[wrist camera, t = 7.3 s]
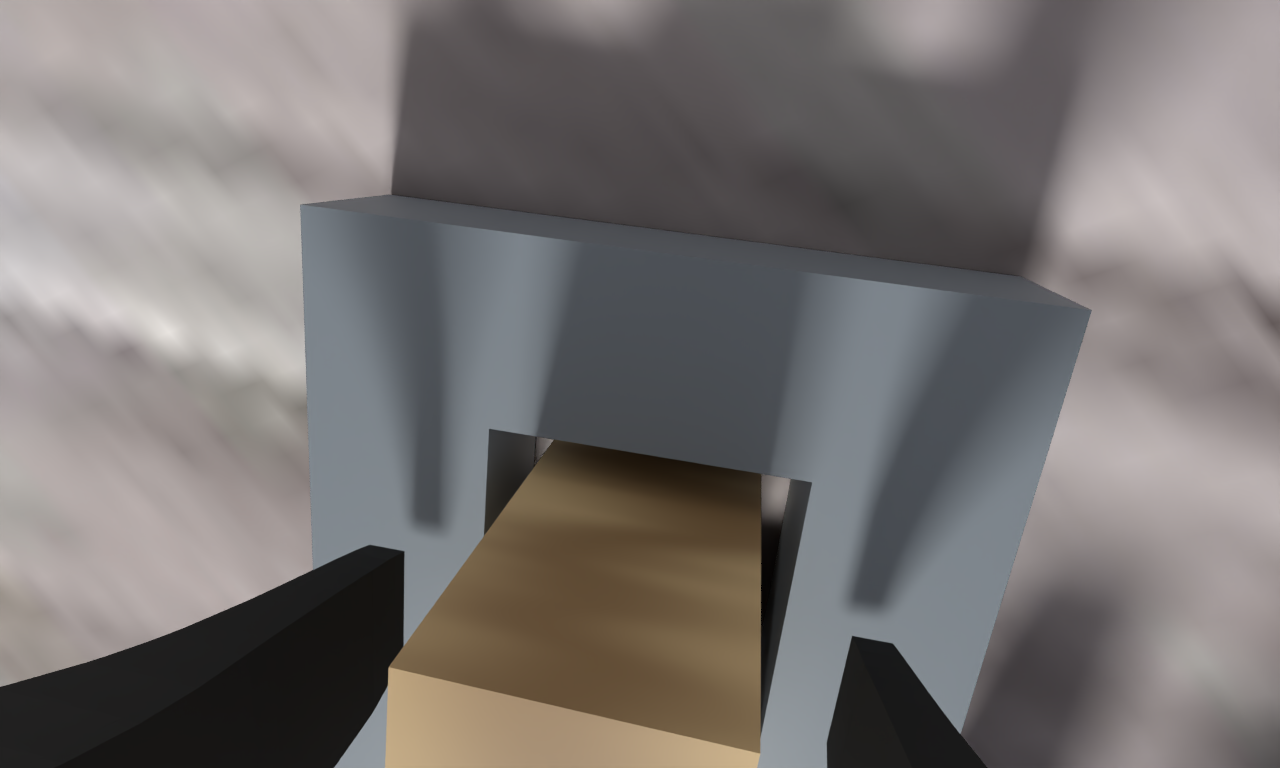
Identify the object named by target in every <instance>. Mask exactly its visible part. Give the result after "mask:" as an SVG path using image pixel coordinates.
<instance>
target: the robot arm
mask: <svg viewBox="0 0 1280 768" xmlns="http://www.w3.org/2000/svg"><path fill="white" fill-rule="evenodd" d="M404 558H405V551H401V550H396V549H390V548H385V547H380V546H374V545H367V546H365V547H362V548H360V549H357V550H355V551H353V552H350V553H348V554H346V555H344V556H342V557H339V558H337V559H335V560H333V561H331V562H329V563H327V564H325V565H323V566H320V567H318V568H316V569H314V570H312V571H310V572H308V573H306V574H304V575H302V576H300V577H297V578H295V579H293V580H291V581H289V582H287V583H285V584H283V585H280V586H278V587H276V588H274V589H272V590H270V591H268V592H266V593H264V594H261V595H259V596H257V597H255V598H253V599H251V600H248V601H246V602H244V603H241V604H239V605H237V606H234V607H232V608H230V609H227V610H225V611H223V612H220V613H218V614H216V615H213V616H211V617H209V618H206V619H204V620H202V621H199V622H197V623H195V624H192V625H190V626H188V627H185V628H183V629H180V630H178V631H175V632H173V633H170V634H167V635H165V636H162V637H159V638H157V639H154V640H151V641H149V642H146V643H143V644H140V645H137V646H134V647H132V648H129V649H126V650H123V651H120V652H117V653H114V654H111V655H108V656H105V657H102V658H99V659H96V660H93V661H90V662H87V663H83V664H80V665H76V666H73V667H69V668H66V669H62V670H59V671H55V672H52V673H48V674H45V675H41V676H38V677H34V678H31V679H27V680H24V681H20V682H17V683H13V684H10V685H6V686H2V687H0V768H334V767H335V766H336V765H337V763H338V762H339V760H340V759H341V758H342V756H343V755H344V753H345V752H346V750H347V749H348V748H349V746H350V745H351V743H352V742H353V740H354V739H355V738H356V736H357V735H358V733H359V732H360V731H361V729H362V728H363V726H364V725H365V723H366V722H367V720H368V719H369V718H370V716H371V715H372V713H373V712H374V710H375V708H376V706H377V705H378V703H379V701H380V699H381V697H382V695H383V694H384V692H385V690H386V688H387V686H388V670H389V666H390V665H391V663H392V662H393V660H394V659H395V658H396V656H397V655H398V654H399V652H400V651H401V649H402V648H403V647H404ZM827 768H987V767H986V766H985V764H984V763H983V762H982V761H981V760H980V758H979V757H978V756H977V755H976V753H975V752H974V751H973V750H972V748H971V747H970V746H969V745H968V743H967V742H966V741H965V740H964V738H963V737H962V736H961V734H960V733H959V732H958V731H957V729H956V728H955V727H954V726H953V724H952V723H951V722H950V720H949V719H948V718H947V716H946V715H945V714H944V712H943V711H942V710H941V708H940V707H939V706H938V704H937V703H936V702H935V700H934V699H933V697H932V696H931V695H930V693H929V692H928V691H927V689H926V688H925V687H924V685H923V684H922V682H921V681H920V680H919V678H918V677H917V675H916V674H915V673H914V671H913V670H912V669H911V667H910V666H909V664H908V663H907V662H906V660H905V659H904V657H903V656H902V655H901V653H900V652H899V651H898V649H897V648H896V647H895V645H894V644H893V643H888V642H883V641H877V640H872V639H867V638H861V637H856V636H852V638H851V642H850V647H849V651H848V655H847V659H846V663H845V668H844V672H843V676H842V680H841V684H840V688H839V693H838V697H837V701H836V705H835V709H834V714H833V718H832V722H831V726H830V730H829V735H828V739H827Z"/></svg>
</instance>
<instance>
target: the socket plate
mask: <svg viewBox="0 0 1280 768" xmlns="http://www.w3.org/2000/svg"><path fill="white" fill-rule="evenodd" d="M300 210H301V239H302V268H303V297H304V325H305V354H306V383H307V411H308V440H309V469H310V497H311V526H312V555H313V570H314V569H316V568H318V567H320V566H323V565H325V564H327V563H329V562H331V561H333V560H335V559H337V558H339V557H342V556H344V555H346V554H348V553H350V552H353V551H355V550H357V549H360V548H362V547H365V546H367V545H374V546H380V547H385V548H390V549H396V550H401V551H405V558H404V645H405V644H406V643H407V641H408V640H409V638H410V637H411V636H412V634H413V633H414V632H415V630H416V629H417V627H418V626H419V625H420V623H421V622H422V621H423V619H424V618H425V616H426V615H427V614H428V612H429V611H430V610H431V608H432V607H433V605H434V604H435V603H436V601H437V600H438V599H439V597H440V596H441V594H442V593H443V592H444V590H445V589H446V588H447V586H448V585H449V583H450V582H451V581H452V579H453V578H454V577H455V575H456V574H457V572H458V571H459V570H460V568H461V567H462V566H463V564H464V563H465V561H466V560H467V559H468V557H469V556H470V555H471V553H472V552H473V550H474V549H475V548H476V546H477V545H478V544H479V542H480V541H481V540H482V538H483V537H484V535H485V534H486V533H487V531H488V530H489V529H490V527H491V526H492V524H493V523H494V522H495V520H496V519H497V518H498V516H499V515H500V513H501V512H502V511H503V509H504V508H505V507H506V505H507V504H508V502H509V501H510V500H511V498H512V497H513V496H514V494H515V493H516V491H517V490H518V489H519V487H520V486H521V485H522V483H523V482H524V480H525V479H526V478H527V476H528V475H529V474H530V472H531V471H532V469H533V468H534V453H535V439H536V437H542V438H549V439H555V440H561V441H567V442H573V443H579V444H585V445H591V446H597V447H603V448H609V449H615V450H621V451H627V452H633V453H639V454H645V455H651V456H657V457H663V458H669V459H675V460H681V461H687V462H693V463H699V464H705V465H711V466H717V467H723V468H729V469H735V470H741V471H747V472H753V473H759V474H765V475H771V476H777V477H783V478H789V479H791V482H790V488H789V493H788V498H787V503H786V508H785V514H784V519H783V524H782V529H781V534H780V540H779V545H778V550H777V555H776V560H775V566H774V571H773V576H772V581H771V586H770V592H769V597H768V602H767V607H766V612H765V618H764V623H763V628H762V633H761V734H760V758H759V762H758V766H757V768H827V739H828V735H829V730H830V726H831V722H832V718H833V714H834V709H835V705H836V701H837V697H838V693H839V688H840V684H841V680H842V676H843V672H844V668H845V663H846V659H847V655H848V651H849V647H850V642H851V638H852V636H856V637H861V638H867V639H872V640H877V641H883V642H888V643H893V644H894V645H895V647H896V648H897V649H898V651H899V652H900V653H901V655H902V656H903V657H904V659H905V660H906V662H907V663H908V664H909V666H910V667H911V669H912V670H913V671H914V673H915V674H916V675H917V677H918V678H919V680H920V681H921V682H922V684H923V685H924V687H925V688H926V689H927V691H928V692H929V693H930V695H931V696H932V697H933V699H934V700H935V702H936V703H937V704H938V706H939V707H940V708H941V710H942V711H943V712H944V714H945V715H946V716H947V718H948V719H949V720H950V722H951V723H952V724H953V726H954V727H955V728H956V729H957V731H958V732H959V733H960V734H961V731H962V728H963V725H964V721H965V718H966V715H967V712H968V708H969V705H970V702H971V699H972V696H973V692H974V689H975V686H976V683H977V679H978V676H979V673H980V670H981V666H982V663H983V660H984V657H985V653H986V650H987V647H988V644H989V641H990V637H991V634H992V631H993V628H994V624H995V621H996V618H997V615H998V611H999V608H1000V605H1001V602H1002V599H1003V595H1004V592H1005V589H1006V586H1007V582H1008V579H1009V576H1010V573H1011V569H1012V566H1013V563H1014V560H1015V557H1016V553H1017V550H1018V547H1019V544H1020V540H1021V537H1022V534H1023V531H1024V527H1025V524H1026V521H1027V518H1028V514H1029V511H1030V508H1031V505H1032V502H1033V498H1034V495H1035V492H1036V489H1037V485H1038V482H1039V479H1040V476H1041V472H1042V469H1043V466H1044V463H1045V460H1046V456H1047V453H1048V450H1049V447H1050V443H1051V440H1052V437H1053V434H1054V430H1055V427H1056V424H1057V421H1058V418H1059V414H1060V411H1061V408H1062V405H1063V401H1064V398H1065V395H1066V392H1067V388H1068V385H1069V382H1070V379H1071V375H1072V372H1073V369H1074V366H1075V363H1076V359H1077V356H1078V353H1079V350H1080V346H1081V343H1082V340H1083V337H1084V333H1085V330H1086V327H1087V324H1088V321H1089V317H1090V314H1091V311H1092V310H1090V309H1088V308H1086V307H1084V306H1082V305H1080V304H1077V303H1075V302H1073V301H1071V300H1069V299H1067V298H1065V297H1063V296H1061V295H1059V294H1057V293H1054V292H1052V291H1050V290H1048V289H1046V288H1044V287H1042V286H1040V285H1038V284H1036V283H1033V282H1031V281H1029V280H1027V279H1025V278H1023V277H1020V276H1013V275H1005V274H997V273H989V272H982V271H974V270H966V269H959V268H951V267H943V266H936V265H928V264H920V263H912V262H905V261H897V260H889V259H882V258H874V257H866V256H859V255H851V254H843V253H835V252H828V251H820V250H812V249H805V248H797V247H789V246H781V245H774V244H766V243H758V242H751V241H743V240H735V239H728V238H720V237H712V236H704V235H697V234H689V233H681V232H674V231H666V230H658V229H651V228H643V227H635V226H627V225H620V224H612V223H604V222H597V221H589V220H581V219H574V218H566V217H558V216H550V215H543V214H535V213H527V212H520V211H512V210H504V209H497V208H489V207H481V206H473V205H466V204H458V203H450V202H443V201H435V200H427V199H419V198H412V197H404V196H396V195H382V196H373V197H364V198H355V199H346V200H337V201H329V202H320V203H311V204H302V205H300ZM387 699H388V686H387V688H386V690H385V692H384V694H383V695H382V697H381V699H380V701H379V703H378V705H377V706H376V708H375V710H374V712H373V713H372V715H371V716H370V718H369V719H368V720H367V722H366V723H365V725H364V726H363V728H362V729H361V731H360V732H359V733H358V735H357V736H356V738H355V739H354V740H353V742H352V743H351V745H350V746H349V748H348V749H347V750H346V752H345V753H344V755H343V756H342V758H341V759H340V760H339V762H338V763H337V765H336V766H335V767H334V768H385V756H386V727H387Z"/></svg>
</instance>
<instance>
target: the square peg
mask: <svg viewBox="0 0 1280 768" xmlns="http://www.w3.org/2000/svg"><path fill="white" fill-rule="evenodd" d="M760 734H761V474H759V473H753V472H747V471H741V470H735V469H729V468H723V467H717V466H711V465H705V464H699V463H693V462H687V461H681V460H675V459H669V458H663V457H657V456H651V455H645V454H639V453H633V452H627V451H621V450H615V449H609V448H603V447H597V446H591V445H585V444H579V443H573V442H567V441H561V440H555V439H554V441H553V442H552V443H551V445H550V446H549V447H548V449H547V450H546V452H545V453H544V454H543V456H542V457H541V458H540V460H539V461H538V463H537V464H536V465H535V467H534V468H533V469H532V471H531V472H530V474H529V475H528V476H527V478H526V479H525V480H524V482H523V483H522V485H521V486H520V487H519V489H518V490H517V491H516V493H515V494H514V496H513V497H512V498H511V500H510V501H509V502H508V504H507V505H506V507H505V508H504V509H503V511H502V512H501V513H500V515H499V516H498V518H497V519H496V520H495V522H494V523H493V524H492V526H491V527H490V529H489V530H488V531H487V533H486V534H485V535H484V537H483V538H482V540H481V541H480V542H479V544H478V545H477V546H476V548H475V549H474V550H473V552H472V553H471V555H470V556H469V557H468V559H467V560H466V561H465V563H464V564H463V566H462V567H461V568H460V570H459V571H458V572H457V574H456V575H455V577H454V578H453V579H452V581H451V582H450V583H449V585H448V586H447V588H446V589H445V590H444V592H443V593H442V594H441V596H440V597H439V599H438V600H437V601H436V603H435V604H434V605H433V607H432V608H431V610H430V611H429V612H428V614H427V615H426V616H425V618H424V619H423V621H422V622H421V623H420V625H419V626H418V627H417V629H416V630H415V632H414V633H413V634H412V636H411V637H410V638H409V640H408V641H407V643H406V644H405V645H404V647H403V648H402V649H401V651H400V652H399V654H398V655H397V656H396V658H395V659H394V660H393V662H392V663H391V665H390V666H389V670H388V699H387V727H386V756H385V768H757V766H758V762H759V758H760Z"/></svg>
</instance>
